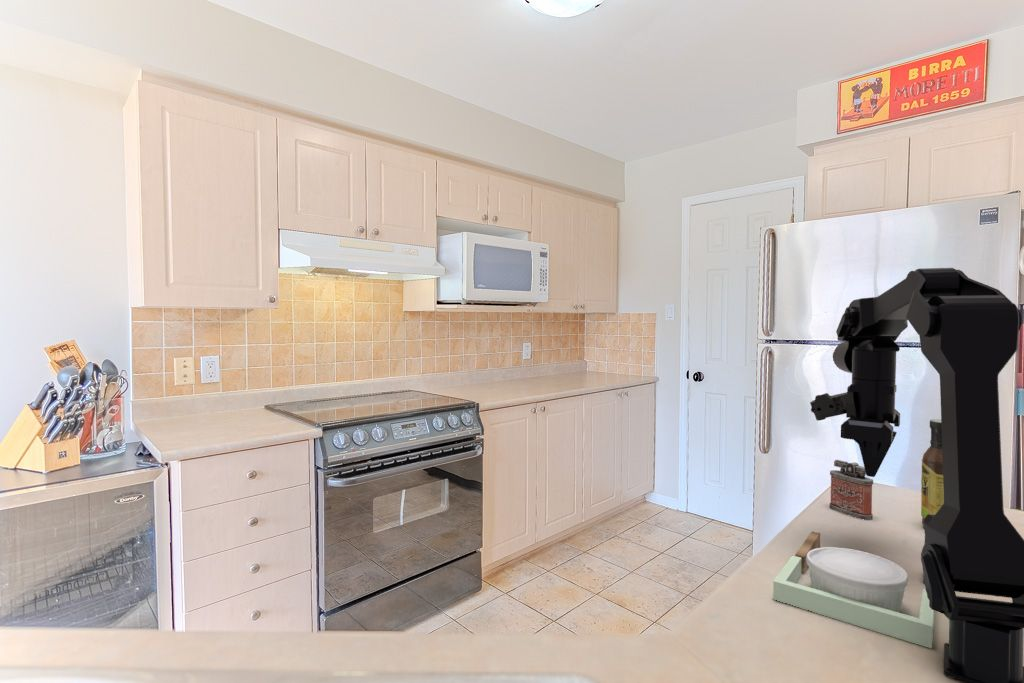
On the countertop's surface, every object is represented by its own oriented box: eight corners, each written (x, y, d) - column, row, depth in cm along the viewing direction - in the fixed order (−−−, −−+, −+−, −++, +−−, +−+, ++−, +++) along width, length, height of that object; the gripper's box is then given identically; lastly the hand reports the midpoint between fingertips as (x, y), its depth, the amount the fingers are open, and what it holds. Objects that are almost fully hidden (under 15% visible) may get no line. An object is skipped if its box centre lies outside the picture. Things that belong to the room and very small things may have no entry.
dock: (931, 648, 59) (932, 626, 59) (773, 599, 69) (773, 581, 69) (934, 610, 67) (935, 591, 67) (792, 572, 77) (792, 555, 77)
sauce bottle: (926, 521, 98) (928, 416, 98) (969, 531, 93) (972, 420, 93) (916, 529, 94) (918, 419, 94) (961, 540, 89) (963, 424, 89)
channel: (932, 608, 67) (932, 583, 67) (794, 571, 78) (795, 550, 77) (935, 575, 76) (935, 553, 76) (811, 546, 87) (812, 527, 87)
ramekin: (812, 575, 77) (813, 539, 77) (908, 599, 70) (908, 559, 70) (798, 606, 68) (799, 566, 68) (906, 637, 61) (907, 593, 61)
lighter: (877, 518, 99) (877, 466, 99) (864, 521, 98) (865, 468, 98) (836, 505, 107) (837, 457, 107) (825, 507, 106) (826, 458, 106)
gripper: (825, 371, 95) (823, 456, 96) (803, 380, 81) (801, 480, 81) (901, 375, 88) (898, 466, 89) (892, 386, 74) (889, 495, 74)
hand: (870, 476), depth 83 cm, fingers closed
